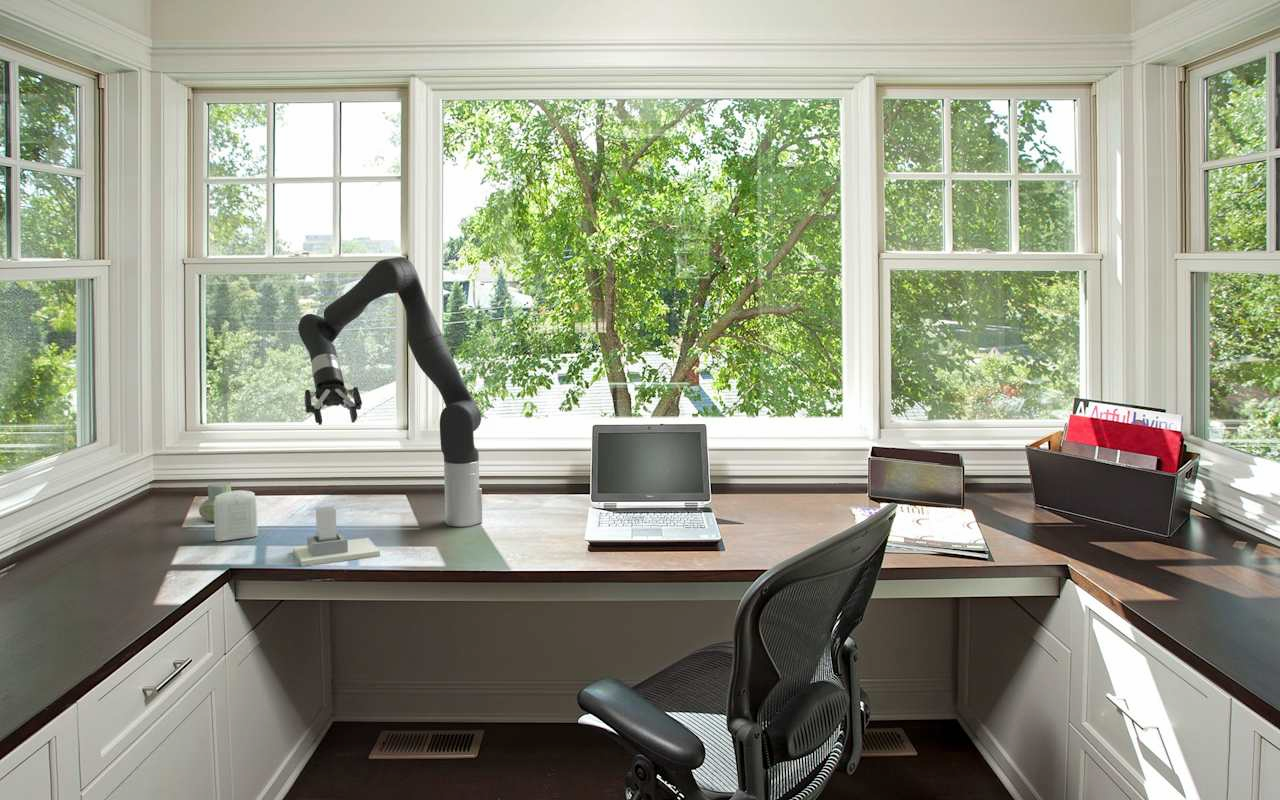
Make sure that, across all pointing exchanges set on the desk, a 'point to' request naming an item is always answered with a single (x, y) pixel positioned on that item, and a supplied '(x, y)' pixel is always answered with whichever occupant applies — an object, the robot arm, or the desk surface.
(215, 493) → the air freshener
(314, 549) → the docking board
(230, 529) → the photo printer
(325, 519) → the grainy grey brick
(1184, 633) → the desk surface
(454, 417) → the robot arm
